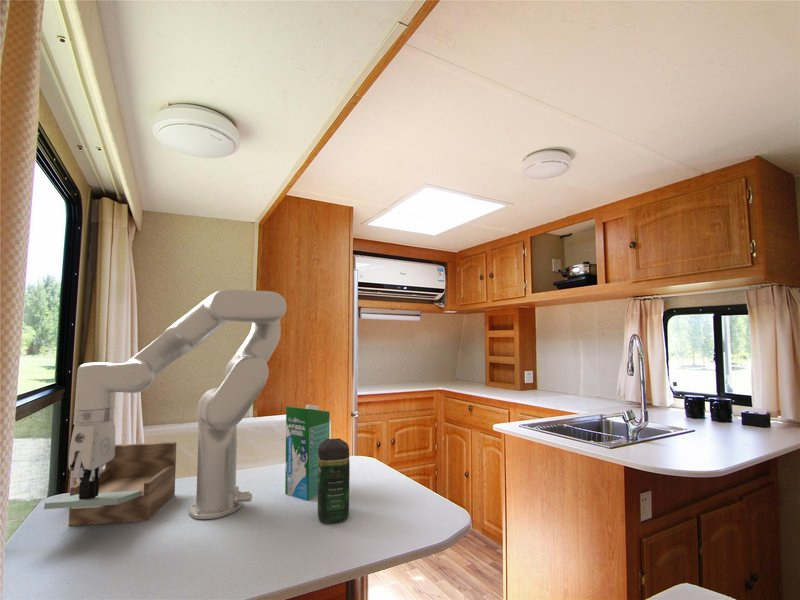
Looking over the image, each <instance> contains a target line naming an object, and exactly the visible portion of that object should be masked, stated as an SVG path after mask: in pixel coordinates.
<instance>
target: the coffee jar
mask: <svg viewBox="0 0 800 600" xmlns="http://www.w3.org/2000/svg"><path fill="white" fill-rule="evenodd" d="M318 450H319V452H318V496H317V517H318V520H319V521H320V523H321V522H322V523H326V524H338V523H340V522H343V521H346V520H347V519H348V518H349V516H350V475H351V473H350V468H351V467H350V446H349V444H348V442H347V441H345V440H343V439H341V438H330V439H326V440H325V441H323V442H322V443H321V444H320V445H319V447H318Z"/></svg>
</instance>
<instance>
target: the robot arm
mask: <svg viewBox="0 0 800 600" xmlns="http://www.w3.org/2000/svg"><path fill="white" fill-rule="evenodd" d="M287 307H288V306H287V302H286V299H285V298H284V296H283V295H281V294H280V293H278V292H275V291H269V290H249V289H247V290H246V289H245V290H244V289H232V288H227V289H225V288H223V289H220V290H217V291H215V292H214V293H212V294H210V295H209V296H208V297H206V298H205V299H204V300H202V301H201V302H200V303H199V304H197V305H196V306H195V307H193V308H192V309H191V310H190V311H188V312H187V313H186V314H184V315H183V316H182V317H180V318H179V319H177V320H176V321H175V322H174V323H172V325H170V326H169V327H167V328H166V329H165V331H163V333H162V334H160V335H159V336H158V337H157V338H156V339H155V340H153V341H152V342H151V343H149V344H148V345H147V346H145V347H144V348H142V350H141V351H139V352H137V353H136V354H135V355H134V356H132V357H130V359H129V360H127V361H125V362H123V363H122V362H121V363H114V362H109V361H108V362H106V361H102V362H100V361H98V362H96V361H95V362H86V363H83V364H80V365H79V366H78V368H77V373H76V374H77V375H76V385H75V400H74V410H73V411H74V413H73V423H72V424H73V425H74V426H73V430H72V433H71V440H70V445H69V453H68V470H69V471H70V472H71V471H73V476H72V477H73V478H79V482H80V489H79V499H93V498H95V497H96V496H98V493H99V479H100V476H101V472H102V470H103V467H105V464H106V463H107V462H109V461H111V460H112V459H113V458H114V456H115V445H116V425H115V406H116V404H115V403H116V393H127V394H137V393H140V392H143V391H146V390H147V389H149V388H150V386H151V385H152V384H153V382H154V379H155V377H157V376H158V375H159V374H160V373H162V372H163V371H164V370H165V369H166V368H167V367H169V366H170V365H172V364H173V363H174V362H175V361H177V360H178V359H180V358H182V357H183V356H185V355H187V354H189V353H192V352H193V351H194V350H196V349H198V348H199V347H200V346H201V345H202V344H203V343H205V342H206V341H207V340H208V339H209V338H211V336H213V335H214V334H216V332H218V331H219V330H220V329H221V328H223V327H224V326H225V325H226V324H227V323H229V322H237V323H238V322H239V323H240V322H241V323H242V322H243V323H246V322H247V323H251V328H250V331H249V334H248V335H247V336H246V338H245V340H244V342H243V343H242V344H241V346H240V347H239V348H238V349H237V351H236V353H234V355H233V356H232V358H231V359H230V360H229V361H228V363H227V365H226V366H225V370H224V376H225V378H224V379H223V381H222V382H221V384H220V385H219V387H214V388H210V389H208V390H207V391H206V392H204V393H203V394H202V396H201V397H200V399H199V401H198V404H197V432H198V433H197V462H196V464H197V467H196V468H197V469H196V499H195V500H196V501H195V502H194V503H193V504H192V505H191V506H190V507H189V509H188V510H189V511H188V513H189V514H188V515H189V516H190V517H191V518H193V519H197V520H198V519H199V520H211V519H217V518H222V517H225V516H229V515H231V514H233V513H235V512H236V511H238V510H239V509H240V508H242V503H247V502H252V499H253V493H250V491H249V490H247V491H241V490H240V486H238V485H237V448H238V429H237V426H238V424H239V423H240V422H241V421H242V420H243V419H244V418H245V416H246V415H247V413H248V412H249V410H250V409H251V407H252V405H253V404H254V403H255V401H256V399H257V398H258V396H259V395H260V393H261V392H262V390H263V389H264V387H265V385H266V383H267V380H268V378H269V373H270V372H269V371H270V370H269V366H268V364H267V363H268V362H269V360H270V358H271V357H272V355H273V354H274V351H275V350H276V348H277V347H278V344H279V342H280V339H281V335H282V334H281V333H282V327H281V319H282V318H283V317H284V316H285V314H286V312H287Z"/></svg>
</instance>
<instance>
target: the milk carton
mask: <svg viewBox="0 0 800 600" xmlns="http://www.w3.org/2000/svg"><path fill="white" fill-rule="evenodd" d="M285 408H286V409H285V478H284V479H285V482H284V483H285V485H284V486H285V487H284V488H285V490H284V493H285V495H288V496H290V497H295V498H298V499H302V500H305V501H310V500H312V499H314V498H315V497H318V452H319V450H318V447H319V445H320V444H321V443H322V442H323V441H325V440H326V439H331V438H330V436H331V435H330V430H331V429H330V424H331V423H330V422H331V421H330V420H331V419H330V418H331V416H330V415H331V414H330V413H331V411H327V410H319V409H320V406H319V405H313V404H306V405H305V408H303V407H295V406H288V405H287V406H285Z"/></svg>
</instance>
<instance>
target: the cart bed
mask: <svg viewBox="0 0 800 600" xmlns="http://www.w3.org/2000/svg"><path fill="white" fill-rule="evenodd" d="M176 463H177V441H168V442H167V441H166V442H165V441H164V442H163V441H162V442H147V443H142V442H141V443H123V444H122V443H120V444H115V456H114V458H113V459H112V460H111V461H109V462H107V463H106V464H105V465H104V469H103V468H102V472H101V476H100V479H99V493H106V492H123V491H140V490H142V495H141V496H139V497H136V498H134V499H131V500H128V501H125V502H123V503H120V504H117V505H103V506H102V507H94V508H79V509H71V508H68V509H69V511H68V526H69V525H72V526H86V525H98V524H101V525H102V524H114V523H115V522H116V523H127V522H129V523H130V522H131V523H132V522H142V520H145V521H149V520H150V519H151V518H152V517H153V516H154V515H155V514H156V513H158V511H159V510H161V508H163V507H164V506H165V505H166V504H167V503H168V502H169V501H170V500H171V499H172V498H173V497H174V496H175V494H176V468H177V467H176ZM79 489H80V483H78V484H76V485H74V486H73V487H71V489H70V488H69V496H73V495H76V494H79ZM164 504H165V505H164ZM163 505H164V506H163ZM148 519H149V520H148Z"/></svg>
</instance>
